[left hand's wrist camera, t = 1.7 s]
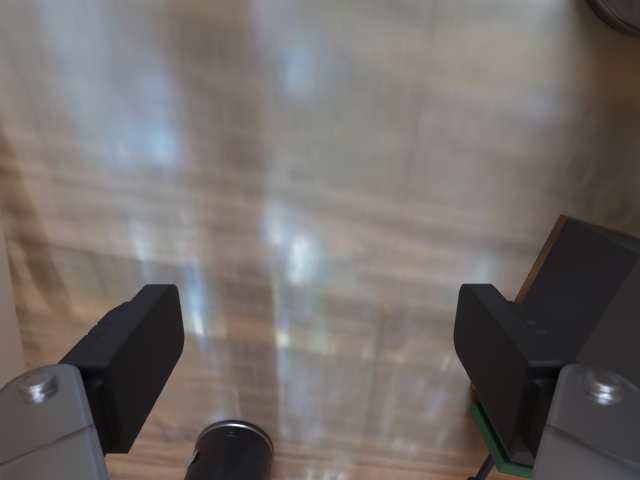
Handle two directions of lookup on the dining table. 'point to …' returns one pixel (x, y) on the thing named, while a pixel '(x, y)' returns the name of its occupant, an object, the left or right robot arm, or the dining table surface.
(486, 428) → the drawer
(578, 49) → the dining table surface
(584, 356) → the cabinet
